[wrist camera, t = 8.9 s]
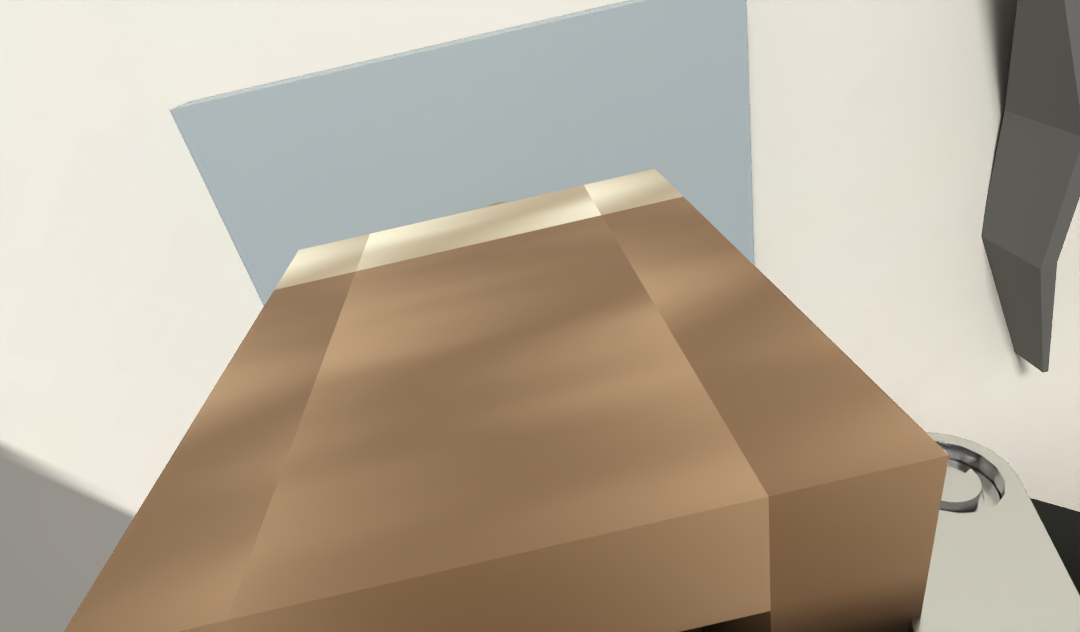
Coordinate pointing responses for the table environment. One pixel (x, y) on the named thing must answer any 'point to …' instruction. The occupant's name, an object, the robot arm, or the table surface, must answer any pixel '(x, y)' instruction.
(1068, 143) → the headband
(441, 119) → the board
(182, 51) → the table surface
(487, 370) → the sleeve
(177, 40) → the table surface
